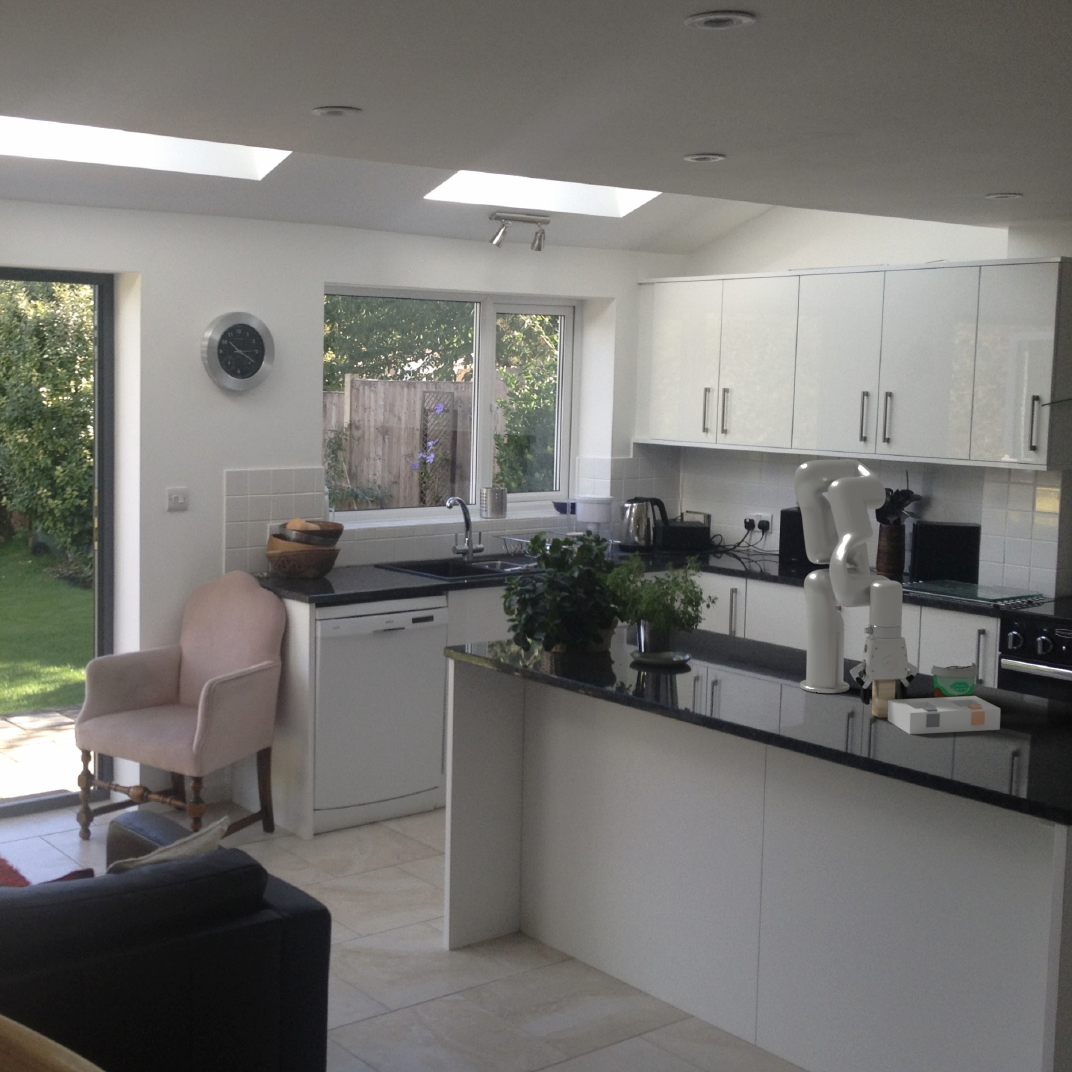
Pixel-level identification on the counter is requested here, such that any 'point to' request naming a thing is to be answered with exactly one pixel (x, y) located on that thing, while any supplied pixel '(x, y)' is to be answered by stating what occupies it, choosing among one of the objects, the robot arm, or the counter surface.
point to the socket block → (943, 715)
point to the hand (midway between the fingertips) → (883, 702)
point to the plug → (882, 696)
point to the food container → (954, 680)
